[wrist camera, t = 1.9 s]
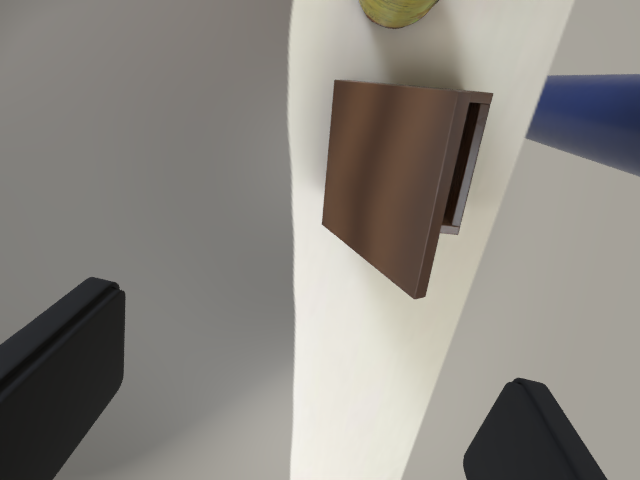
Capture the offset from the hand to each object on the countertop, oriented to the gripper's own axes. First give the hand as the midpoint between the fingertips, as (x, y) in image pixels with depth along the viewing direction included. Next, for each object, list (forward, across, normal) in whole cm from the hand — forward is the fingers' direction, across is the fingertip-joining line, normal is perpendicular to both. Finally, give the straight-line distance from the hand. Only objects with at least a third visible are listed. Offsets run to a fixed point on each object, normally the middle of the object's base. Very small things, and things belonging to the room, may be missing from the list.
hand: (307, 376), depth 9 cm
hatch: (+16, -3, -2) cm, 16 cm away
